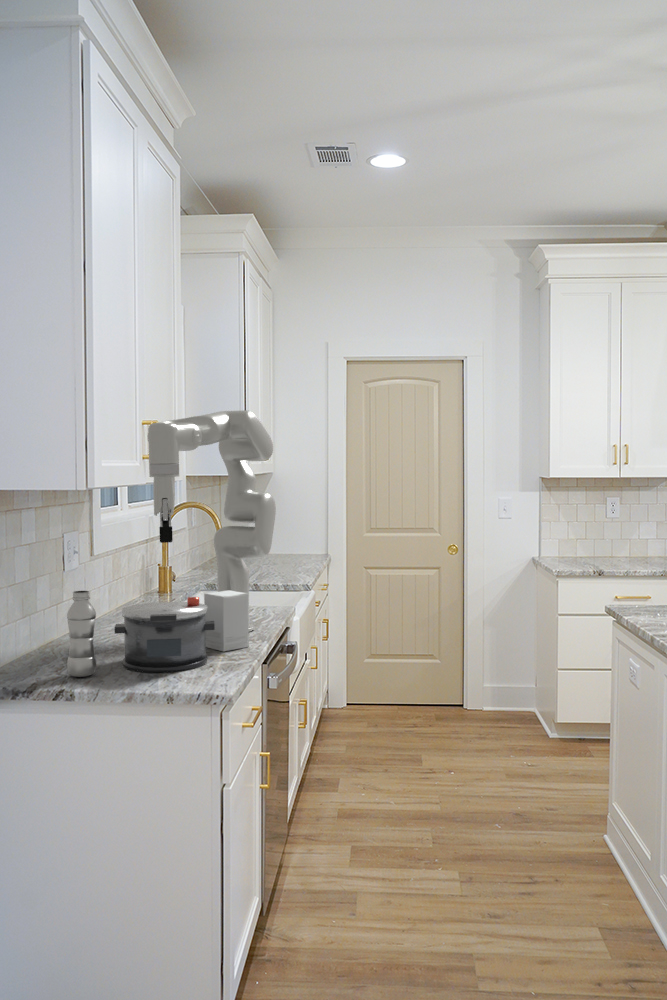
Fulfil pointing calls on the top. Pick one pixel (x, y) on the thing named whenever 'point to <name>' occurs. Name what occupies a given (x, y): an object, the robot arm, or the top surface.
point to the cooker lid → (165, 610)
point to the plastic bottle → (81, 636)
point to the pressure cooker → (164, 644)
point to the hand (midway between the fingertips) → (166, 541)
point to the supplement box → (227, 620)
